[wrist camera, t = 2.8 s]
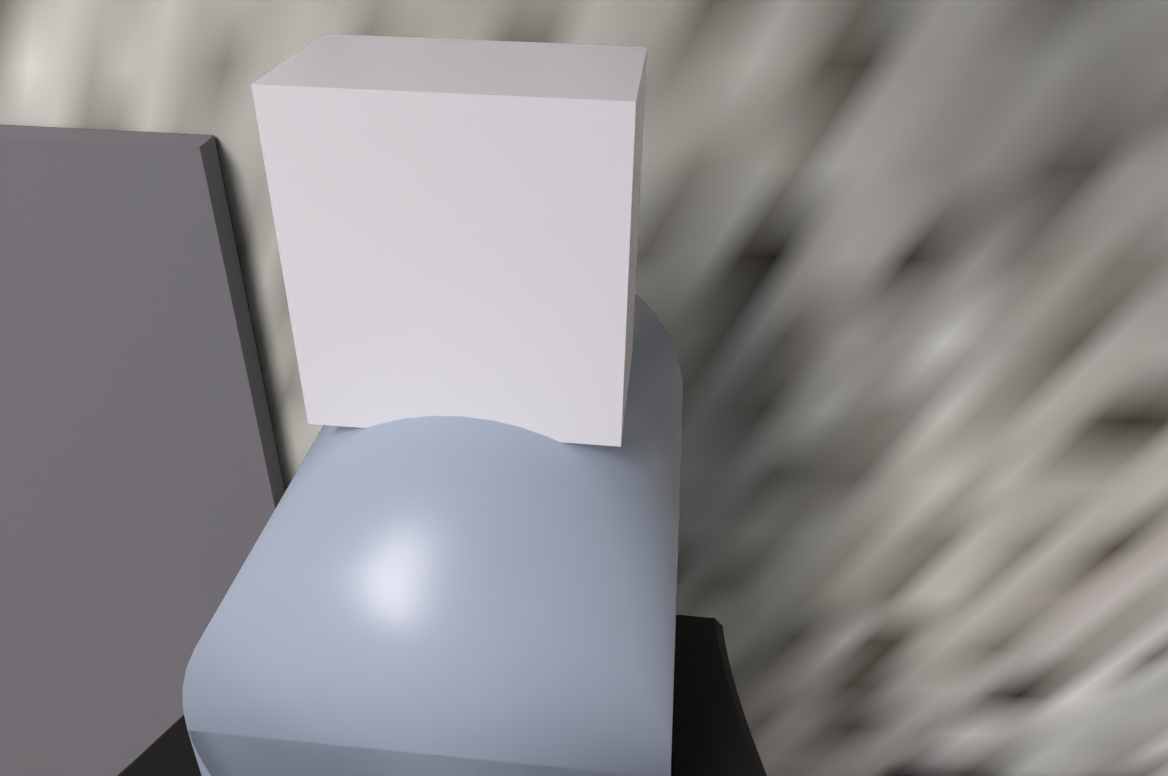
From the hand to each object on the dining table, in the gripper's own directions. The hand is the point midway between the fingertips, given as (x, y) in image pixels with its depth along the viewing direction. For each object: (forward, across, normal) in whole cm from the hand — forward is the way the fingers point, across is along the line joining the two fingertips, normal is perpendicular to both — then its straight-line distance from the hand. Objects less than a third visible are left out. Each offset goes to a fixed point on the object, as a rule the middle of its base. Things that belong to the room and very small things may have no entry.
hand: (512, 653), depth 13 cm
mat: (+5, +11, +3) cm, 12 cm away
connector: (+2, 0, -1) cm, 2 cm away
